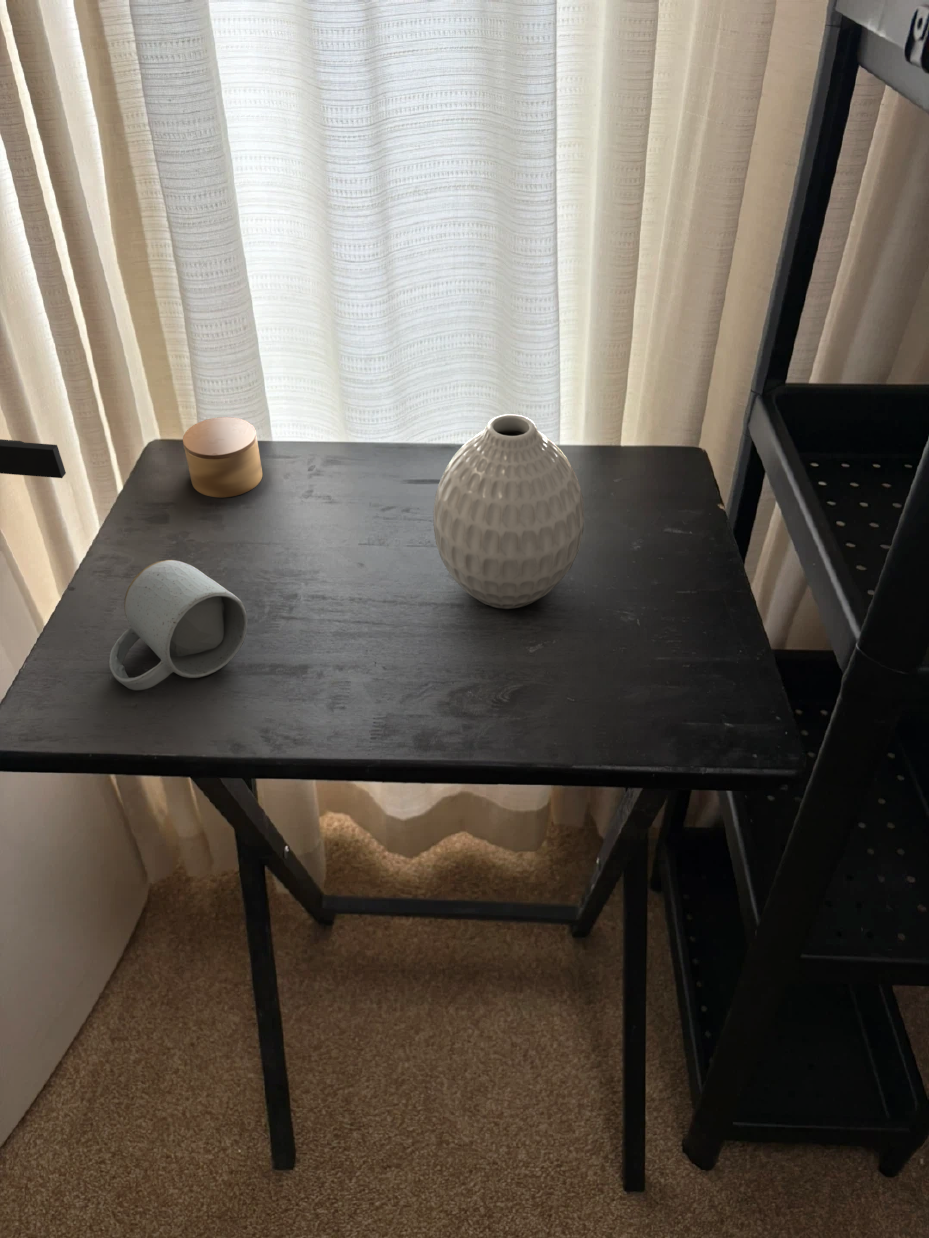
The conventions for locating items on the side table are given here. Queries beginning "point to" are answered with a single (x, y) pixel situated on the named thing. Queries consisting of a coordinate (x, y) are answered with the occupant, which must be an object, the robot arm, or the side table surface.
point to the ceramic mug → (179, 623)
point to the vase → (508, 514)
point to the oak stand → (223, 456)
